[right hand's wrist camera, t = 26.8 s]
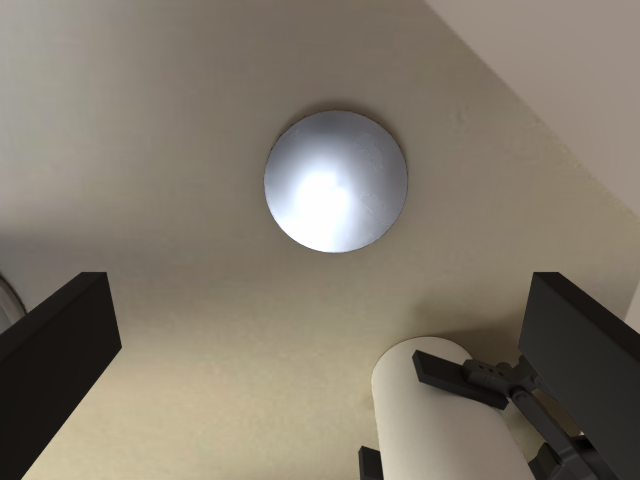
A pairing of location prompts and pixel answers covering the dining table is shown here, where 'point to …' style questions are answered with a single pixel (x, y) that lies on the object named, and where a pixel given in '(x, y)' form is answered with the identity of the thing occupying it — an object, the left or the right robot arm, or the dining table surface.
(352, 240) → the lid
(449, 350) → the jar
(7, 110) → the dining table surface
